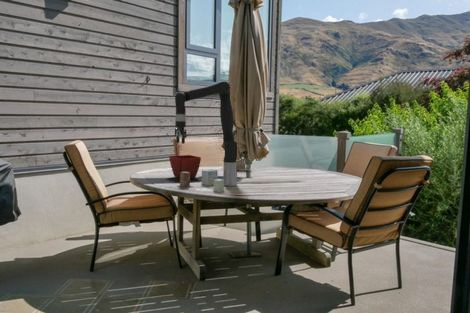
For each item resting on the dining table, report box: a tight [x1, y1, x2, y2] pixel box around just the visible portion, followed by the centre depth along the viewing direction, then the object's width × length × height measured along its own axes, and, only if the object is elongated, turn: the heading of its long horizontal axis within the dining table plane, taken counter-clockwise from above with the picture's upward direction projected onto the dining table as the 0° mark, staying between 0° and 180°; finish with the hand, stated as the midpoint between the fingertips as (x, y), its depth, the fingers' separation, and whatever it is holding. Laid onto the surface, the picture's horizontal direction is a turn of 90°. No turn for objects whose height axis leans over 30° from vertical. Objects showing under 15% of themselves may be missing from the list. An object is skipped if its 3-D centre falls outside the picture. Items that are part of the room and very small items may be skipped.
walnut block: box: [179, 172, 191, 188], centre depth 301 cm, size 5×5×10 cm
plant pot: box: [168, 154, 202, 179], centre depth 342 cm, size 19×19×17 cm
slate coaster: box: [176, 185, 194, 189], centre depth 301 cm, size 9×9×1 cm
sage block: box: [212, 178, 225, 193], centre depth 288 cm, size 5×5×8 cm
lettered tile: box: [195, 187, 212, 192], centre depth 291 cm, size 9×9×1 cm
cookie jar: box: [222, 159, 247, 172], centre depth 398 cm, size 25×25×32 cm
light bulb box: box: [201, 168, 219, 186], centre depth 314 cm, size 11×7×11 cm, turn 141°
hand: (180, 143), depth 309 cm, fingers open, 8 cm apart
